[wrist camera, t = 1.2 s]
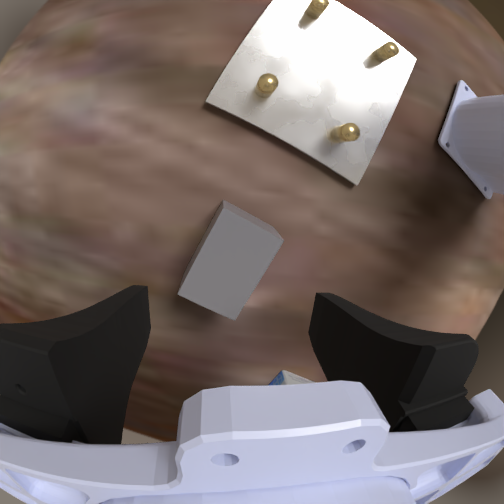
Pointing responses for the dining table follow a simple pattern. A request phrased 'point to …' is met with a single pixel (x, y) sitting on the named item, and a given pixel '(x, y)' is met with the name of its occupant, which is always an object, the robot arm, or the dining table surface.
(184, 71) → the dining table surface
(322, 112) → the plate with brass knobs
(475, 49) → the dining table surface
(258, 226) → the plain grey block
